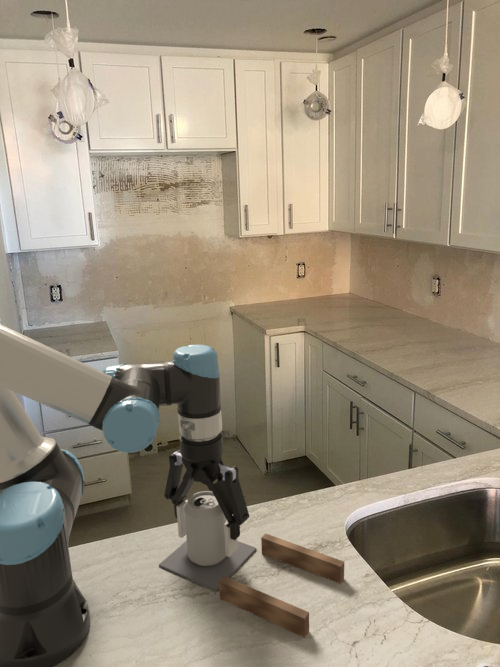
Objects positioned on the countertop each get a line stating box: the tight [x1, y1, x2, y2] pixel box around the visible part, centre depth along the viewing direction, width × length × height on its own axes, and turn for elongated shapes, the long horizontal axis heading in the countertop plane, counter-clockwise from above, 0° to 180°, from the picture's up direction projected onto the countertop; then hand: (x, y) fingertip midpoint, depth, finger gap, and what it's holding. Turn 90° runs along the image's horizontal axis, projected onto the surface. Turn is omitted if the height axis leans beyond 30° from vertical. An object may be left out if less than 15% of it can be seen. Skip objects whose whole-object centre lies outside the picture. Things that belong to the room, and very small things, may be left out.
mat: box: [158, 540, 257, 593], centre depth 102 cm, size 13×13×1 cm
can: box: [184, 490, 227, 566], centre depth 100 cm, size 8×8×12 cm
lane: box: [218, 533, 345, 638], centre depth 93 cm, size 16×15×4 cm
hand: (207, 542), depth 101 cm, fingers open, 10 cm apart
